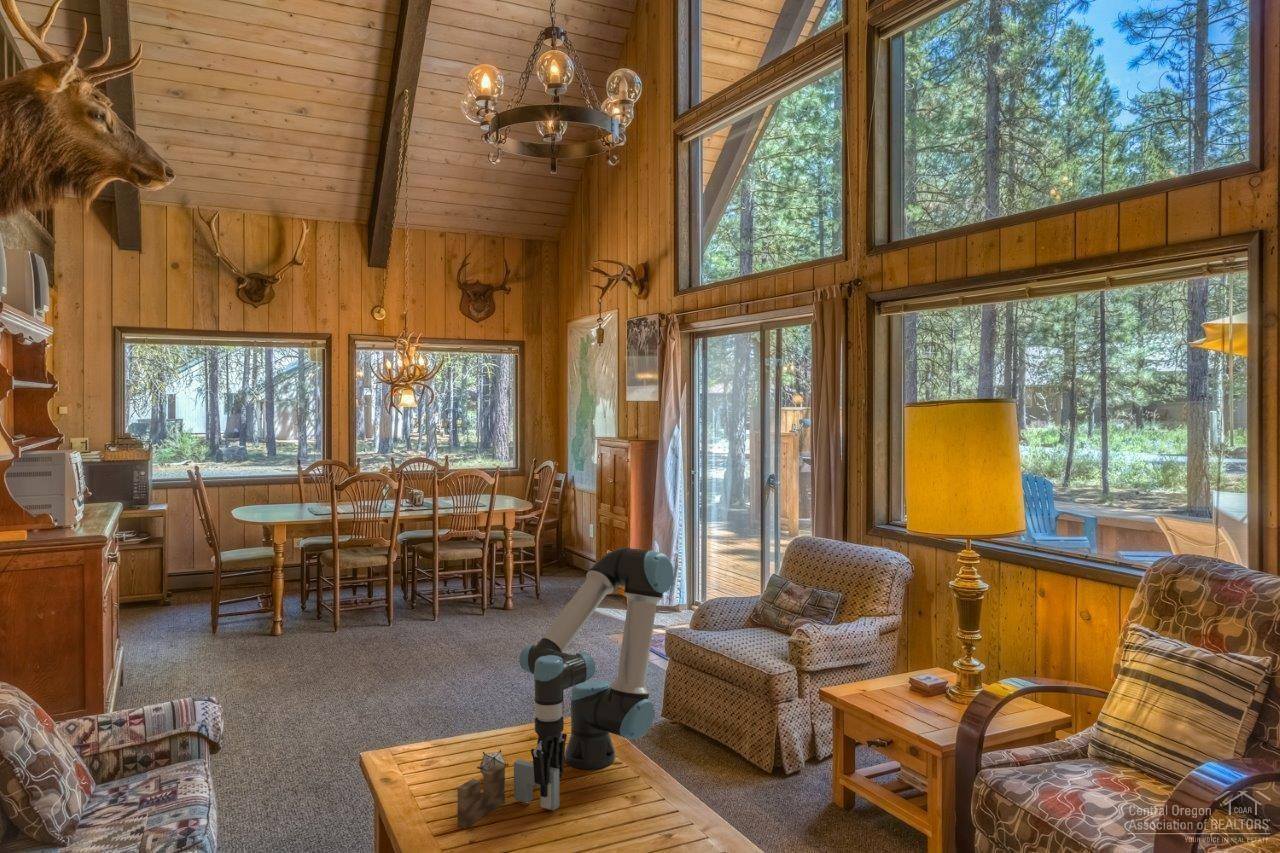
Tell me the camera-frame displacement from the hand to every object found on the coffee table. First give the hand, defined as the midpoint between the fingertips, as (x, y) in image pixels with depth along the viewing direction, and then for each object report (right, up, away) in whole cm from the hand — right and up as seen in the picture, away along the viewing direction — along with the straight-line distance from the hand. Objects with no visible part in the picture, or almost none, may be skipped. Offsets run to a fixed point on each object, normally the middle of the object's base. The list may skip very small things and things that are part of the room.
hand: (549, 804), depth 222 cm
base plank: (-18, -2, -2) cm, 18 cm away
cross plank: (-4, -1, +2) cm, 4 cm away
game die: (-18, -2, +18) cm, 26 cm away
